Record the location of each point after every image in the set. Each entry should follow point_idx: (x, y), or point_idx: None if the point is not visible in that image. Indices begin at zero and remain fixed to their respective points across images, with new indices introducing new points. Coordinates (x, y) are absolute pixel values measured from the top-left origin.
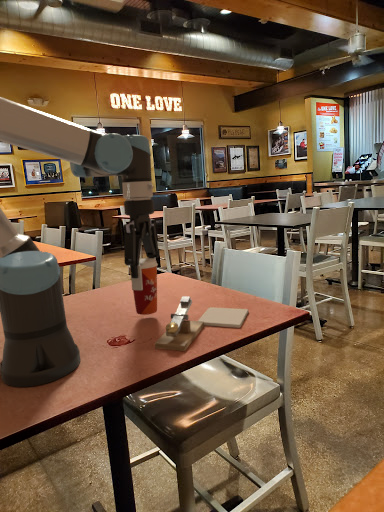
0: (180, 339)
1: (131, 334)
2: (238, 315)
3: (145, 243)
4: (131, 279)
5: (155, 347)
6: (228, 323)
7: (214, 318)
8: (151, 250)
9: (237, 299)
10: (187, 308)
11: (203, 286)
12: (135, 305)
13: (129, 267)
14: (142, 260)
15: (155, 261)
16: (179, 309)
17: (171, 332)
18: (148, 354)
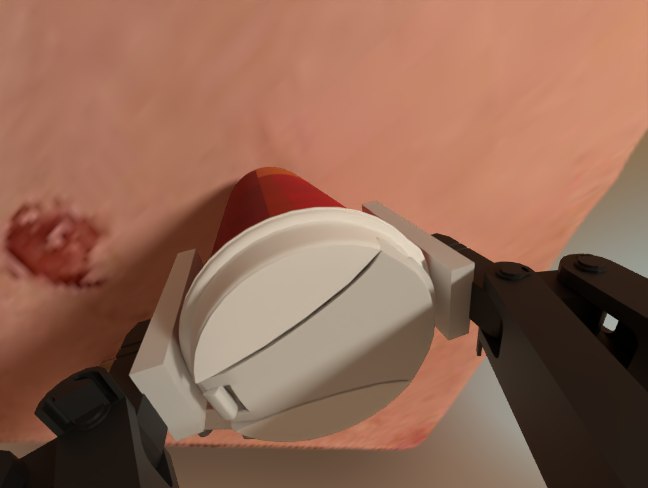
0: None
1: (126, 245)
2: None
3: (583, 470)
4: (164, 288)
5: (101, 365)
6: None
7: None
8: (510, 388)
9: (473, 327)
10: (231, 428)
11: (585, 183)
12: (233, 190)
13: (191, 286)
14: (337, 346)
15: (354, 420)
16: (215, 414)
17: None
18: (60, 372)
